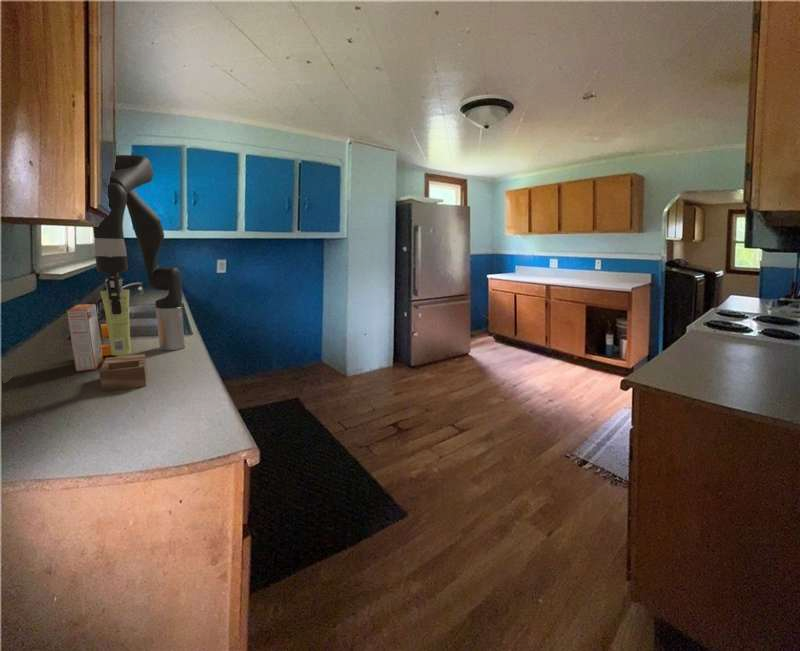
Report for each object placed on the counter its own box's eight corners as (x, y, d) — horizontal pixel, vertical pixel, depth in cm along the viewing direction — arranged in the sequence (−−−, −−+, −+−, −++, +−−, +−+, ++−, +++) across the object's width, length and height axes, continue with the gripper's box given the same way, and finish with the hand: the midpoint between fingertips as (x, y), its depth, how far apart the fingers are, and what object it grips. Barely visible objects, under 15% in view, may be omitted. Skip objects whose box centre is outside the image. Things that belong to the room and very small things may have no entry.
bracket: (96, 352, 160) (92, 322, 158) (118, 350, 164) (115, 321, 162) (96, 358, 152) (92, 327, 149) (119, 356, 156) (116, 325, 154)
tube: (118, 351, 127) (111, 288, 123) (135, 351, 127) (129, 289, 123) (107, 356, 121) (99, 290, 117) (125, 356, 122) (118, 291, 118)
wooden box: (107, 376, 132) (105, 357, 131) (147, 371, 138) (145, 354, 137) (101, 391, 119) (99, 371, 118) (146, 386, 124) (144, 366, 123)
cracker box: (83, 361, 148) (75, 304, 144) (103, 359, 151) (96, 303, 147) (74, 372, 136) (65, 310, 132) (96, 370, 139) (88, 309, 135)
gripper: (98, 253, 122) (104, 310, 126) (91, 255, 110) (99, 317, 114) (128, 254, 126) (133, 308, 130) (125, 255, 114) (131, 315, 118)
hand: (117, 312), depth 122 cm, fingers closed on tube, 4 cm apart
